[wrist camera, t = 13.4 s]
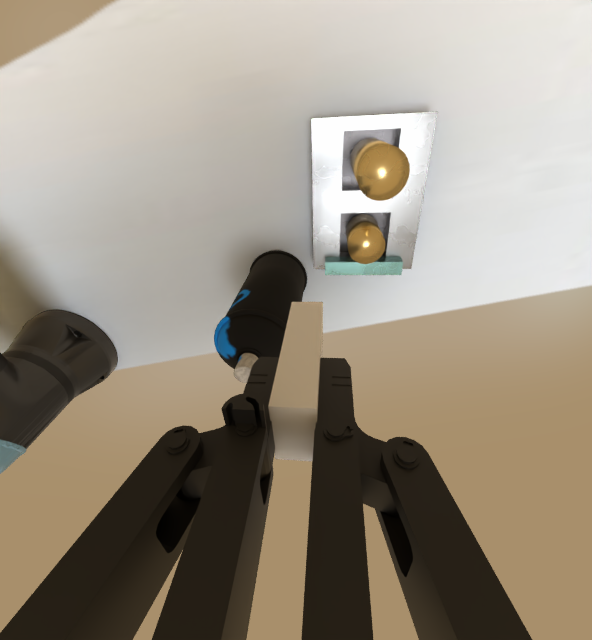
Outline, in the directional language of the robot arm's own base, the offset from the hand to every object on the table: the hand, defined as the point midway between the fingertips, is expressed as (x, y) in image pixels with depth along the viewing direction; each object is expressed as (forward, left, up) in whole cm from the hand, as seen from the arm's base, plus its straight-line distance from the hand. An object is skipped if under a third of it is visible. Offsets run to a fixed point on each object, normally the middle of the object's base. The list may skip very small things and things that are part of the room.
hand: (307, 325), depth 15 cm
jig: (+5, +1, -26) cm, 27 cm away
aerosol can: (-6, -10, -27) cm, 29 cm away
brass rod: (+5, +5, -26) cm, 27 cm away
